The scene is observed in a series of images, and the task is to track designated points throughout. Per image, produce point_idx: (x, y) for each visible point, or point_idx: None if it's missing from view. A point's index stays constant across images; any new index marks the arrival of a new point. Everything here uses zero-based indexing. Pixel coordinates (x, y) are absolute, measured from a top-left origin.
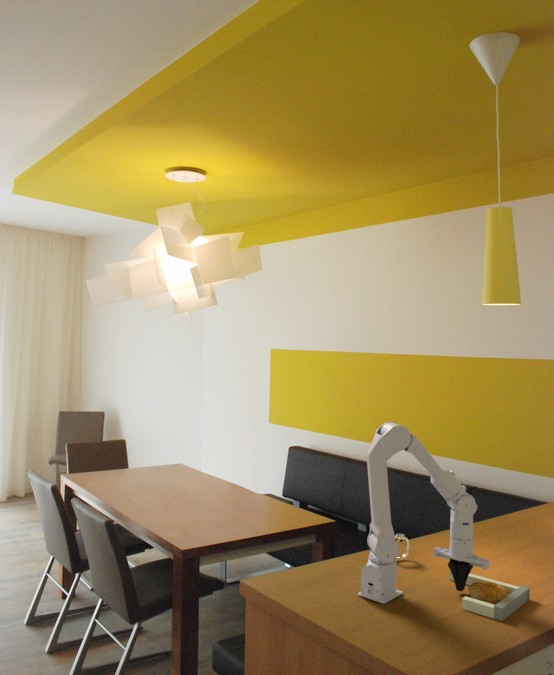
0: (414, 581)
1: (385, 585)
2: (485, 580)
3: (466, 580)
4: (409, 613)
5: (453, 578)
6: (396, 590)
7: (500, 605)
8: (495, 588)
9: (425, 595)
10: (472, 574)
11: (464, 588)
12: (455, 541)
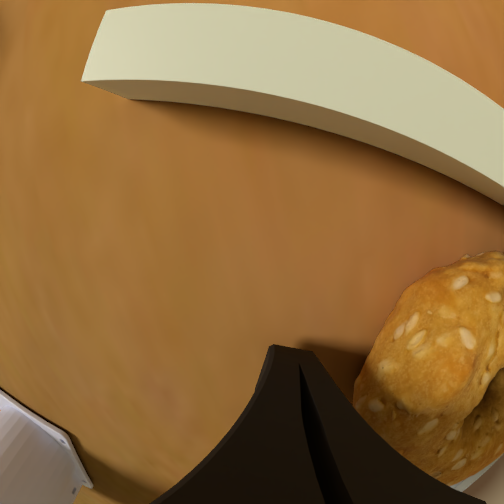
0: (3, 279)
1: (63, 502)
2: (502, 185)
3: (345, 400)
4: None
5: (153, 96)
6: (47, 430)
7: (458, 490)
8: (500, 455)
9: (127, 431)
10: (359, 37)
11: (316, 358)
12: None
